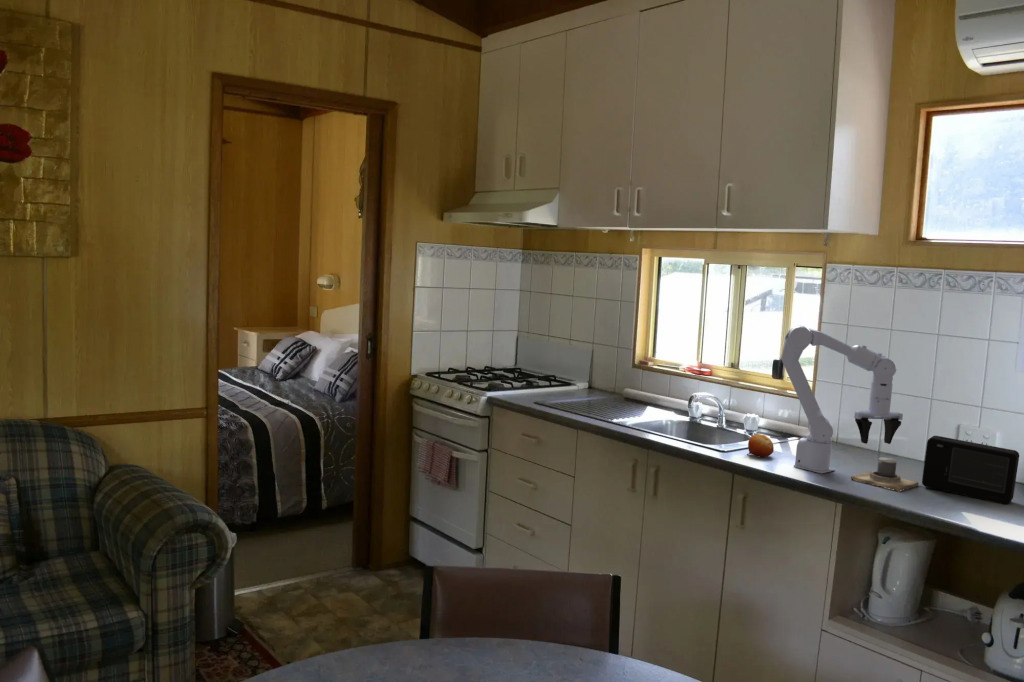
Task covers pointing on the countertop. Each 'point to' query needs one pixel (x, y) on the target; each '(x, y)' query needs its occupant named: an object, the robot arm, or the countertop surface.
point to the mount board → (885, 481)
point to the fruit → (760, 446)
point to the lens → (886, 467)
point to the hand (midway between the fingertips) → (875, 443)
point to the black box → (970, 469)
